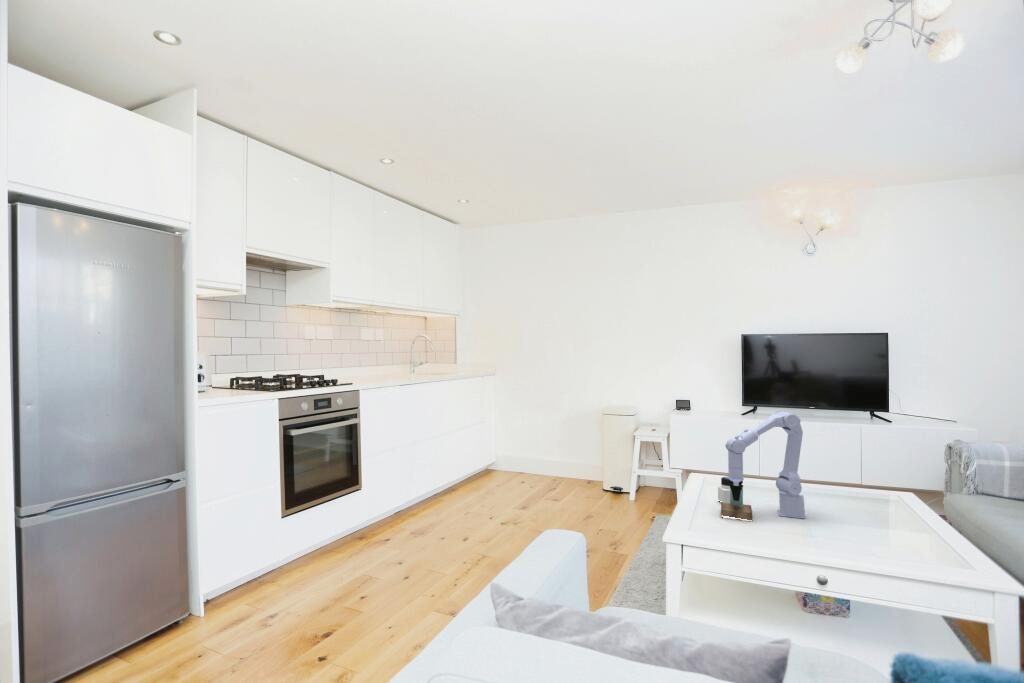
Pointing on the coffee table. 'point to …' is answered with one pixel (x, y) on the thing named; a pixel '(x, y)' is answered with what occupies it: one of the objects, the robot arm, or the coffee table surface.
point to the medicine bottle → (724, 490)
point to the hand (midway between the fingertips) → (736, 499)
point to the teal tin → (736, 501)
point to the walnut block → (736, 511)
